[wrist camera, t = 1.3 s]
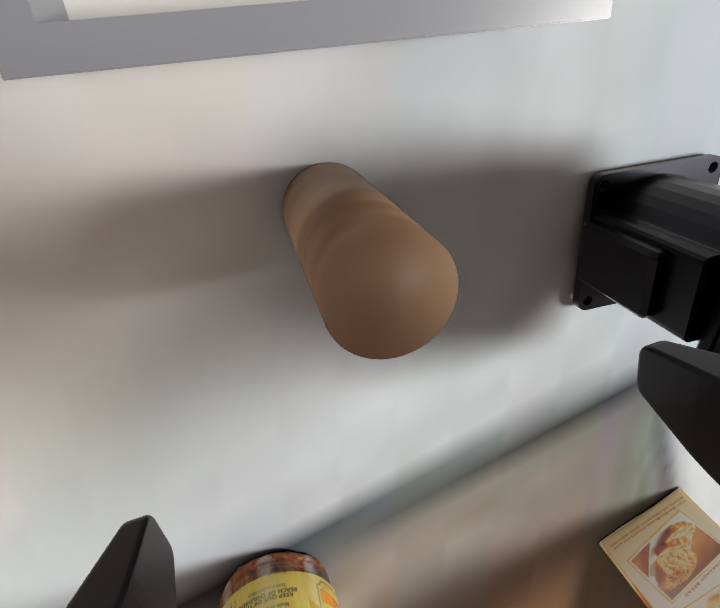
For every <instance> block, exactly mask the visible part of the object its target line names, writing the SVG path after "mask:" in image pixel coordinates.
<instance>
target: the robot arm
mask: <svg viewBox="0 0 720 608" xmlns="http://www.w3.org/2000/svg"><path fill="white" fill-rule="evenodd" d="M709 165H710V166H709ZM708 167H709V168H708ZM719 178H720V156H716V155H712V154H706V155H700V156H694V157H688V158H682V159H676V160H670V161H664V162H658V163H652V164H646V165H640V166H634V167H628V168H622V169H616V170H610V171H604V172H599V173H596V174H595V175H594V176H592V178H591V179H590V181H589V184H588V189H587V196H586V204H585V212H584V220H583V227H582V235H581V243H580V251H579V258H578V266H577V274H576V281H575V289H574V297H573V303H574V304H575V305H576V306H577V307H579V308H580V309H582V310H588V309H593V308H597V307H602V306H606V305H611V304H615V303H618V304H619V305H621V306H623V307H624V308H626V309H627V310H629V311H631V312H632V313H634V314H635V315H637V316H639V317H641V318H645V317H646V318H648V319H650V320H651V321H653V322H654V323H656V324H658V325H659V326H661V327H663V328H664V329H666V330H667V331H669V332H671V333H672V334H674V335H676V336H677V337H679V338H681V339H682V340H684V341H685V342H691V341H695V340H697V341H699V343H698V345H697V347H696V348H693V347H689V346H685V345H681V344H677V343H673V342H669V341H659V342H656V343H653V344H650V345H647V346H645V347H643V348H642V349H641V351H640V354H639V362H638V371H637V386H638V389H639V391H640V393H641V394H642V396H643V397H644V398H645V399H646V401H647V402H648V403H649V404H650V406H651V407H652V408H653V409H654V411H655V412H656V413H657V414H658V415H659V417H660V418H661V419H662V420H663V422H664V423H665V424H666V425H667V426H668V428H669V429H670V430H671V431H672V433H673V434H674V435H675V436H676V438H677V439H678V440H679V441H680V442H681V444H682V445H683V446H684V447H685V449H686V450H687V451H688V452H689V453H690V454H691V456H692V457H693V458H694V459H695V460H696V461H697V462H698V463H699V465H700V466H701V467H702V468H703V469H704V470H705V471H706V472H707V473H708V474H709V475H710V476H711V477H712V478H713V479H714V480H715V481H716V482H717V483H718V484H719V485H720V185H718V181H719ZM602 181H603V186H602V187H601V188H600V189H599V186H600V183H601V182H602ZM586 297H587V298H586ZM585 298H586V299H585ZM584 299H585V300H584ZM583 300H584V301H583ZM66 608H176V588H175V569H174V556H173V551H172V548H171V545H170V543H169V542H168V540H167V538H166V537H165V535H164V533H163V532H162V530H161V528H160V527H159V525H158V524H157V522H156V520H155V519H154V518H153V517H152V516H150V515H145V516H142V517H139V518H136V519H133V520H130V521H127V522H126V523H124V524H123V525H122V526H121V527H120V529H119V530H118V532H117V533H116V535H115V536H114V538H113V539H112V540H111V542H110V543H109V545H108V546H107V548H106V549H105V551H104V552H103V554H102V555H101V557H100V558H99V560H98V561H97V563H96V564H95V566H94V567H93V569H92V570H91V571H90V573H89V574H88V576H87V577H86V579H85V580H84V582H83V583H82V585H81V586H80V588H79V589H78V591H77V592H76V594H75V595H74V597H73V598H72V600H71V601H70V603H69V604H68V605H67V607H66Z"/></svg>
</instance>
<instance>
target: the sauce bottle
mask: <svg viewBox="0 0 720 608" xmlns="http://www.w3.org/2000/svg"><path fill="white" fill-rule="evenodd" d="M220 608H339V606H338V601H337V597H336V593H335V590H334V589H333V587H332V586H331V584H330V581H329V577H328V575H327V573H326V571H325V568H324V567H323V566H322V564H321V563H320V562H319V561H318V560H317V558H315V557H313V556H311V555H303V554H300V553H295V552H282V553H272V554H267V555H264V556H262V557H260V558H257V559H253V560H252V561H250V562H248V563H246V564H244V565H243V566H241V567H239V568H238V569H237V571H236V572H235V573H234V574H233V576H232V577H231V578H230V579H229V581H228V583H227V585H226V586H225V589H224V592H223V594H222V597H221V600H220Z"/></svg>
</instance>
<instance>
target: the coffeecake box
mask: <svg viewBox="0 0 720 608" xmlns="http://www.w3.org/2000/svg"><path fill="white" fill-rule="evenodd" d="M599 544H600V546H601V547H602V548H603V550H604V551H605V552H606V554H607V555H608V556H609V558H610V559H611V560H612V562H613V563H614V564H615V566H616V567H617V568H618V569H619V571H620V572H621V573H622V575H623V576H624V577H625V579H626V580H627V581H628V583H629V584H630V585H631V586H632V588H633V589H634V590H635V592H636V593H637V594H638V596H639V597H640V598H641V600H642V601H643V602H644V604H645V605H646V606H647V607H648V608H720V525H719V524H718V523H717V522H716V521H715V520H714V519H713V518H711V517H710V516H709V515H708V514H707V513H706V512H705V511H704V510H703V509H702V508H701V507H700V506H699V505H698V504H697V503H696V502H695V501H694V500H693V499H692V498H691V497H690V496H689V495H688V494H687V493H686V492H685V491H684V490H683V489H682V488H678V489H676V490H675V491H674V492H672V493H671V494H669V495H668V496H667V497H665V498H664V499H663V500H661V501H660V502H659V503H657V504H656V505H654V506H653V507H651V508H649V509H648V510H646V511H645V512H644V513H642V514H640V515H639V516H637V517H636V518H634V519H633V520H631V521H629V522H628V523H626V524H625V525H623V526H622V527H620V528H619V529H617V530H616V531H615V532H613V533H612V534H610V535H609V536H607V537H606V538H605V539H603V540H602V541H600V543H599Z"/></svg>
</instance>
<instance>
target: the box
mask: <svg viewBox="0 0 720 608" xmlns="http://www.w3.org/2000/svg"><path fill="white" fill-rule="evenodd" d="M612 3H613V0H0V71H1V74H2V77H3V79H4V80H13V79H23V78H32V77H42V76H52V75H62V74H71V73H81V72H91V71H101V70H111V69H120V68H130V67H140V66H150V65H159V64H169V63H179V62H189V61H198V60H208V59H218V58H228V57H238V56H247V55H257V54H267V53H277V52H286V51H296V50H306V49H316V48H325V47H335V46H345V45H355V44H364V43H374V42H384V41H394V40H404V39H413V38H423V37H433V36H443V35H452V34H462V33H472V32H482V31H491V30H501V29H511V28H521V27H531V26H540V25H550V24H560V23H570V22H579V21H589V20H599V19H609V18H611V10H612Z"/></svg>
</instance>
